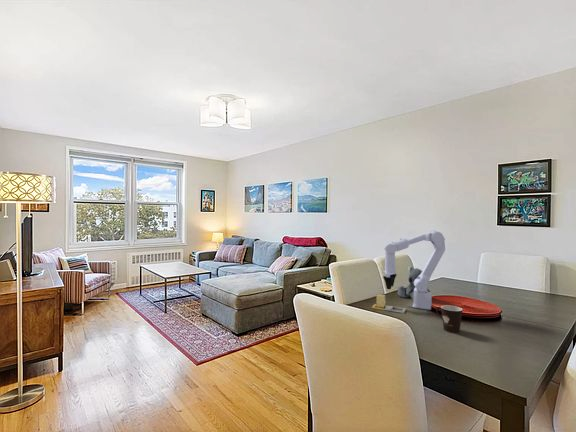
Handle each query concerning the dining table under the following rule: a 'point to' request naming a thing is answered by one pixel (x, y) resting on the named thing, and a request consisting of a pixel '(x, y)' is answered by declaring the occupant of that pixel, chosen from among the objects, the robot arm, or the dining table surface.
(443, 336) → the dining table surface
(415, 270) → the koala plush
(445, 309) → the coffee mug
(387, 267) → the robot arm
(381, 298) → the brass block
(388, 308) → the rail
